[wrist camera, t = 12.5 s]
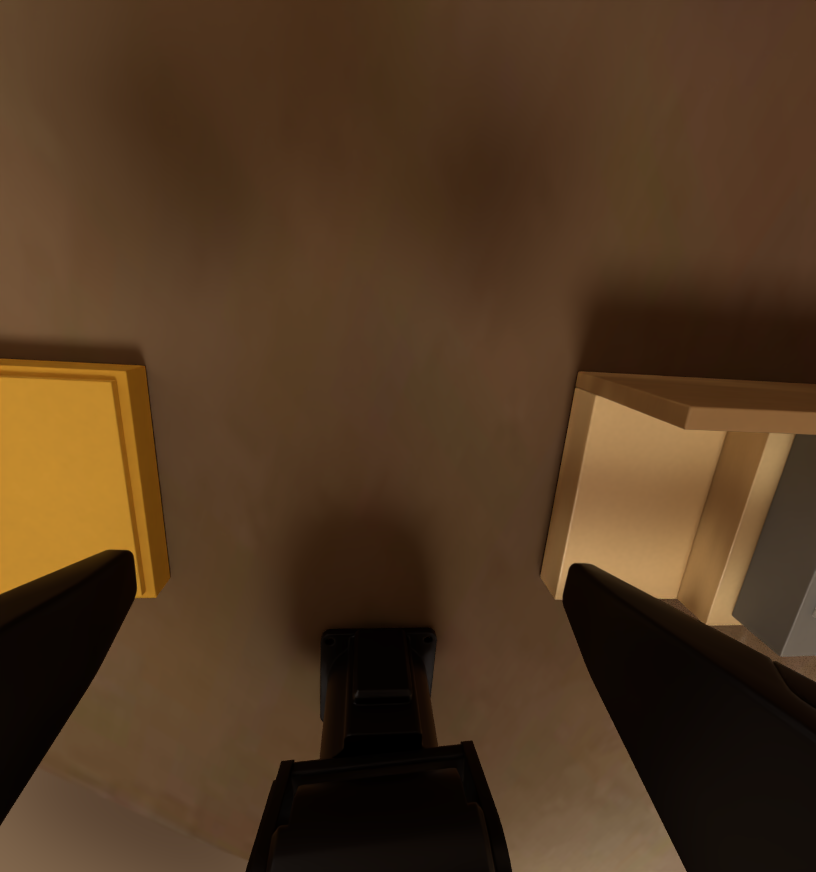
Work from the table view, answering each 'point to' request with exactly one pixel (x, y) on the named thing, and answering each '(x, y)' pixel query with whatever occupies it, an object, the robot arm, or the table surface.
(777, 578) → the remote
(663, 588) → the stepped shelf
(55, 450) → the cushion
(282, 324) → the table surface
